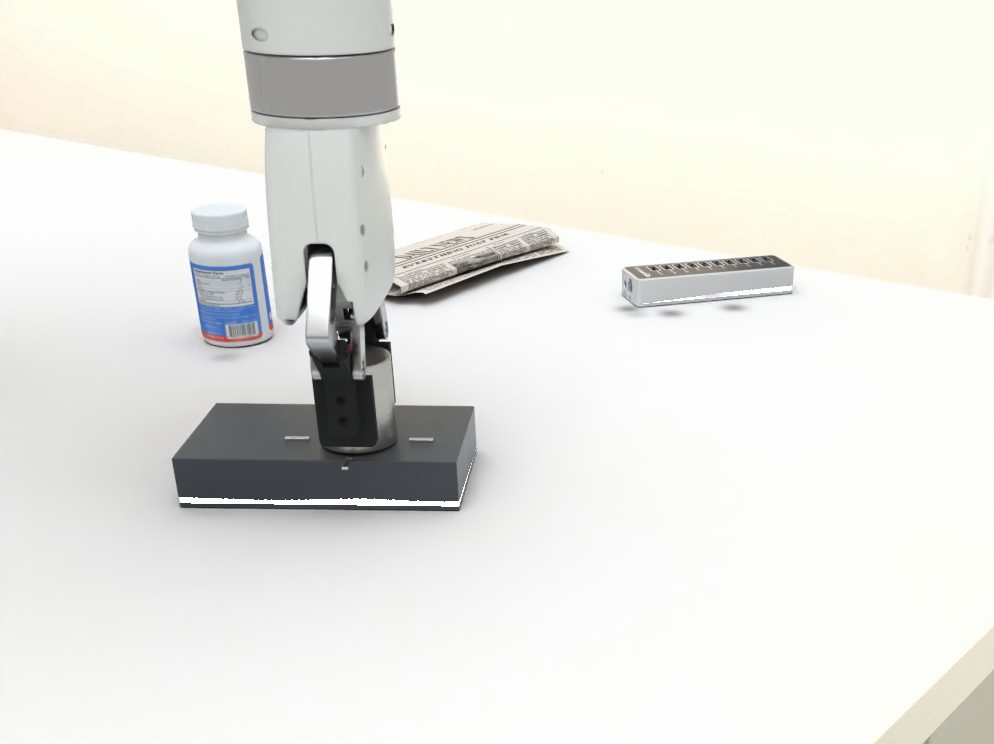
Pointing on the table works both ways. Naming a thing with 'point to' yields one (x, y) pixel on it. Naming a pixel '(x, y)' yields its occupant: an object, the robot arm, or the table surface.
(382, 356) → the hob knob
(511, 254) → the newspaper
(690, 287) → the multiport hub
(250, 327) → the pill bottle
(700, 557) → the table surface
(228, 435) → the panel
